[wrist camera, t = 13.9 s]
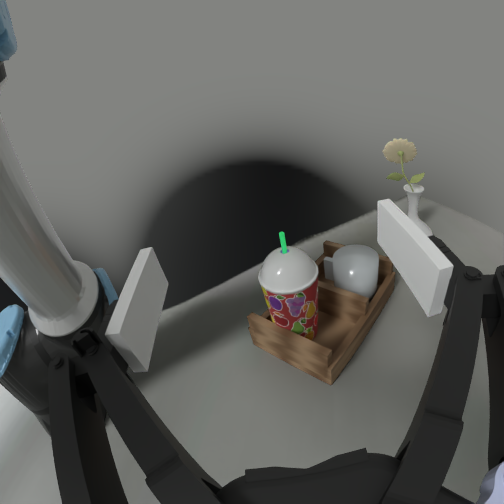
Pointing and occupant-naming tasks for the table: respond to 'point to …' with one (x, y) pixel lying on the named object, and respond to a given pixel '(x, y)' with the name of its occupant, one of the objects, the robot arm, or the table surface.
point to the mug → (354, 269)
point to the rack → (327, 324)
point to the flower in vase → (400, 154)
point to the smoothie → (291, 289)
